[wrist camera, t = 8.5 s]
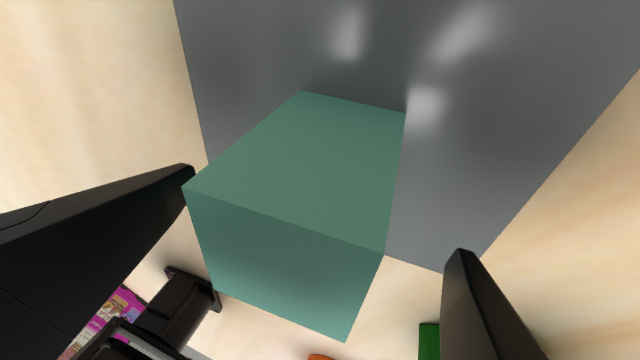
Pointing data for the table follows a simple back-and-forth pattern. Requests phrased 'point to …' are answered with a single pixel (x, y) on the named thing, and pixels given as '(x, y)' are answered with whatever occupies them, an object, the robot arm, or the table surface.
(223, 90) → the board
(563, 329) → the table surface
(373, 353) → the table surface
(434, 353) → the milk carton
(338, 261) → the block
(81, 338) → the candy bar box
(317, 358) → the paper cup
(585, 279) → the table surface
